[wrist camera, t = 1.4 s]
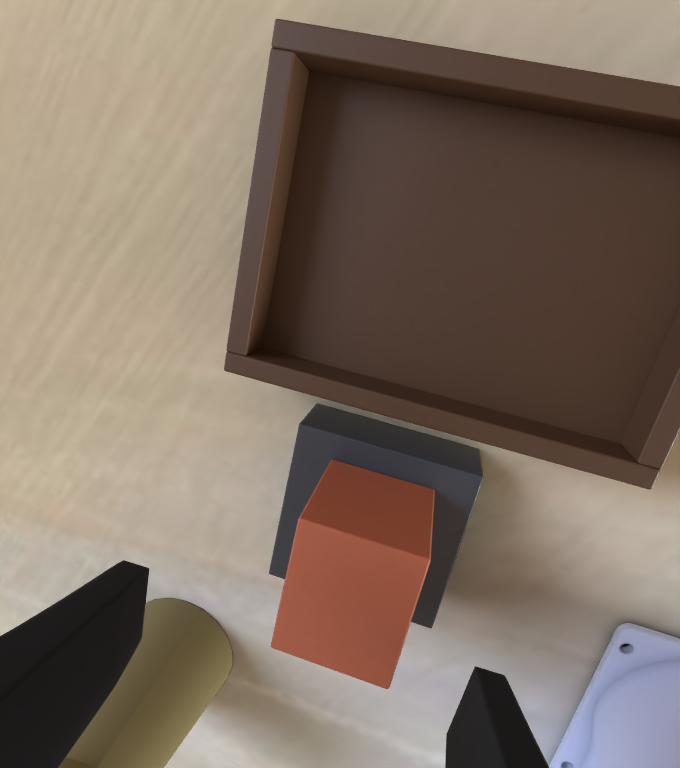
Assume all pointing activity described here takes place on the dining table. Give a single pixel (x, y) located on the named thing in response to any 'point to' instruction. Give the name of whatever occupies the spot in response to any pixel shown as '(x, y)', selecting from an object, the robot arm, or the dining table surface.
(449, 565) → the base block
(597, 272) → the tray
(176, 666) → the olive pawn
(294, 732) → the dining table surface
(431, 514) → the terracotta block
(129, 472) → the dining table surface
